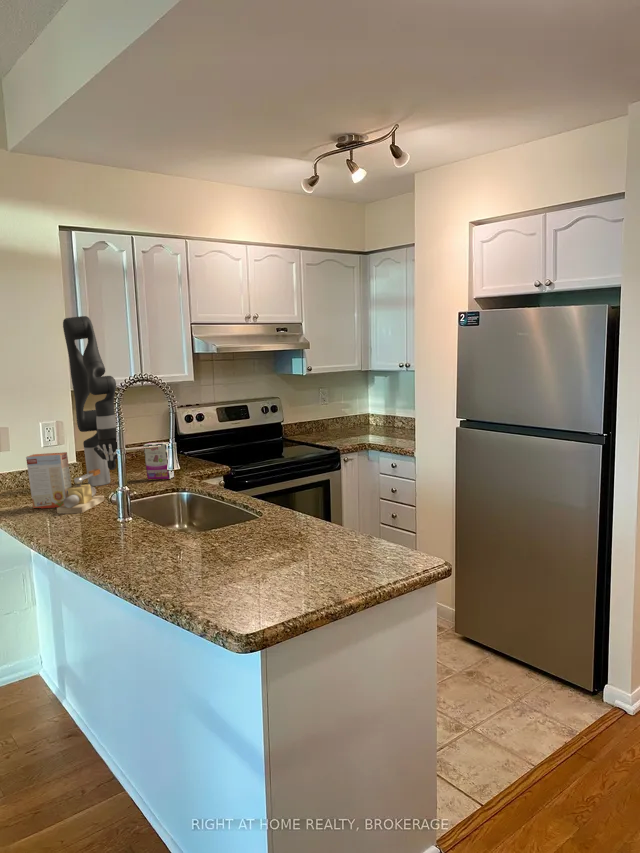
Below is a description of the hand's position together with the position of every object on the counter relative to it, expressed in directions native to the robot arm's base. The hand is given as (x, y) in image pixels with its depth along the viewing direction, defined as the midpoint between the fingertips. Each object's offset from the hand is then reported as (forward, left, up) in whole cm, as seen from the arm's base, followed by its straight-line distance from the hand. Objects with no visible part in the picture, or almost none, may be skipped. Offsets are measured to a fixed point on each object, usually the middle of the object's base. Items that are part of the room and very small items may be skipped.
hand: (112, 469), depth 251 cm
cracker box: (+11, -20, -12) cm, 26 cm away
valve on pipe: (+13, -7, -12) cm, 19 cm away
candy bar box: (-31, +7, -12) cm, 34 cm away
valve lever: (+6, -8, -2) cm, 10 cm away
